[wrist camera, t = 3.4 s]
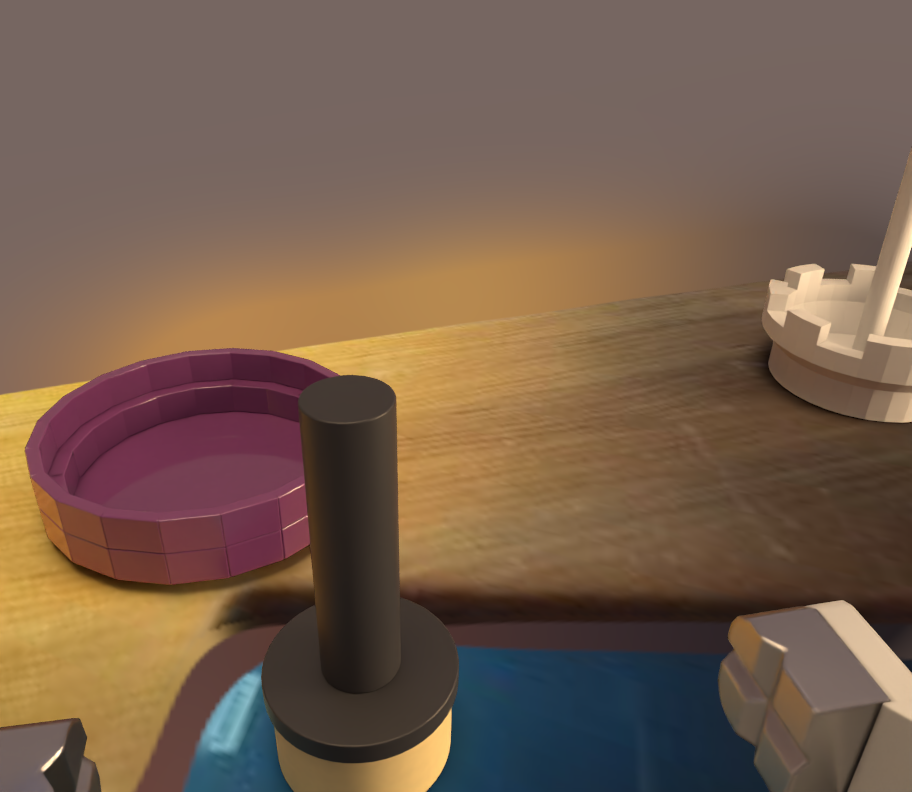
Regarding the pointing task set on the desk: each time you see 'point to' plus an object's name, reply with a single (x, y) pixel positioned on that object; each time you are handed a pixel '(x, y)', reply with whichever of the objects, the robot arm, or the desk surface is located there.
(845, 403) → the flag stand
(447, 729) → the dish brush
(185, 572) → the plum bowl
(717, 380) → the desk surface
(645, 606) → the desk surface
